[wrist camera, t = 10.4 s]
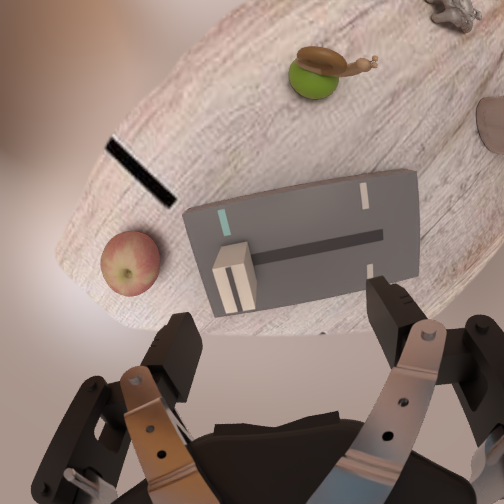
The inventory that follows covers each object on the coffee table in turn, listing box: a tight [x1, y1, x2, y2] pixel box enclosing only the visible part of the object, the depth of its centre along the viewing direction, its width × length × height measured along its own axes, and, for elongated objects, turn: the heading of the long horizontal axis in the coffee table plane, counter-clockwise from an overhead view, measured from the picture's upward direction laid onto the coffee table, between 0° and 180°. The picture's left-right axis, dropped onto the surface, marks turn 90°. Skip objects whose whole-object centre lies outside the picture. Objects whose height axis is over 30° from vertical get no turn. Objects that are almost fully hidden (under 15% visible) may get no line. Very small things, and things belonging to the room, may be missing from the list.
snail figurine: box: [289, 46, 378, 99], centre depth 21 cm, size 5×6×12 cm
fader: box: [212, 242, 257, 314], centre depth 28 cm, size 3×5×6 cm, turn 13°
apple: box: [101, 231, 160, 297], centre depth 31 cm, size 8×8×8 cm
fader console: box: [182, 169, 420, 318], centre depth 32 cm, size 28×14×3 cm, turn 103°
